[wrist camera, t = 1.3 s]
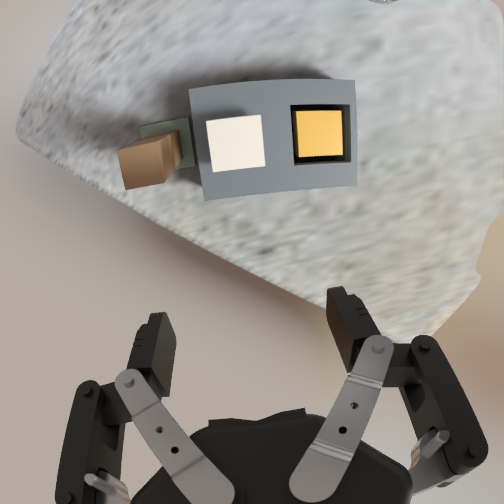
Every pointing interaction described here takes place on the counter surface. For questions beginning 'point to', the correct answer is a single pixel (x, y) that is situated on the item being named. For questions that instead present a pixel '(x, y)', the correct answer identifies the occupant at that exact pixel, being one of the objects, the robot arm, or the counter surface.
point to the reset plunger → (317, 132)
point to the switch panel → (274, 135)
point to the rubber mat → (185, 138)
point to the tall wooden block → (150, 159)
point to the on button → (236, 143)
